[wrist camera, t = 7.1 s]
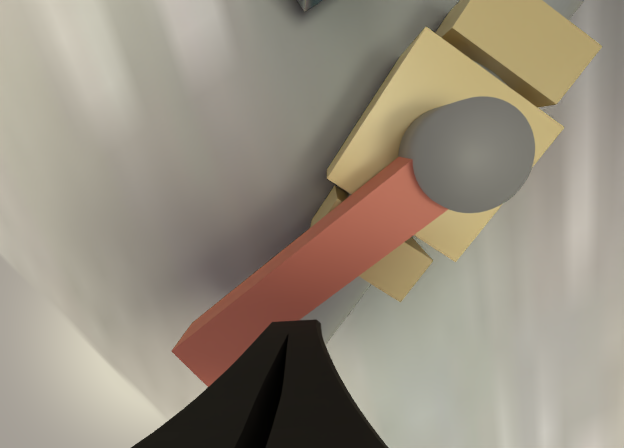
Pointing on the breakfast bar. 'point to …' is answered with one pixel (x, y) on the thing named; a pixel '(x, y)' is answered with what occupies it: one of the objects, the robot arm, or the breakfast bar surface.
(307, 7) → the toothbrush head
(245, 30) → the breakfast bar surface
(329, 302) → the valve pipe
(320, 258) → the lever
